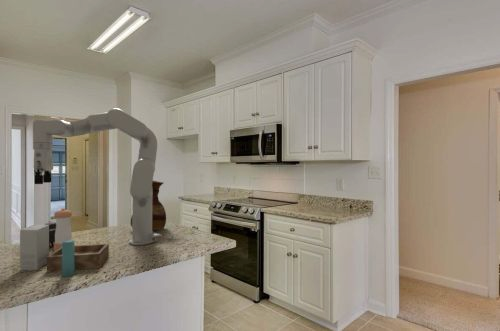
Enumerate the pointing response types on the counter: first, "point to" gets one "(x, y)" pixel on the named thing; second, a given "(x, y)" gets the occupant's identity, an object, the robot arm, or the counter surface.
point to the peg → (68, 258)
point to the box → (80, 257)
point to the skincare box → (34, 247)
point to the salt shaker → (62, 227)
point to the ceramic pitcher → (157, 209)
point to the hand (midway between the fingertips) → (43, 183)
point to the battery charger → (51, 233)
